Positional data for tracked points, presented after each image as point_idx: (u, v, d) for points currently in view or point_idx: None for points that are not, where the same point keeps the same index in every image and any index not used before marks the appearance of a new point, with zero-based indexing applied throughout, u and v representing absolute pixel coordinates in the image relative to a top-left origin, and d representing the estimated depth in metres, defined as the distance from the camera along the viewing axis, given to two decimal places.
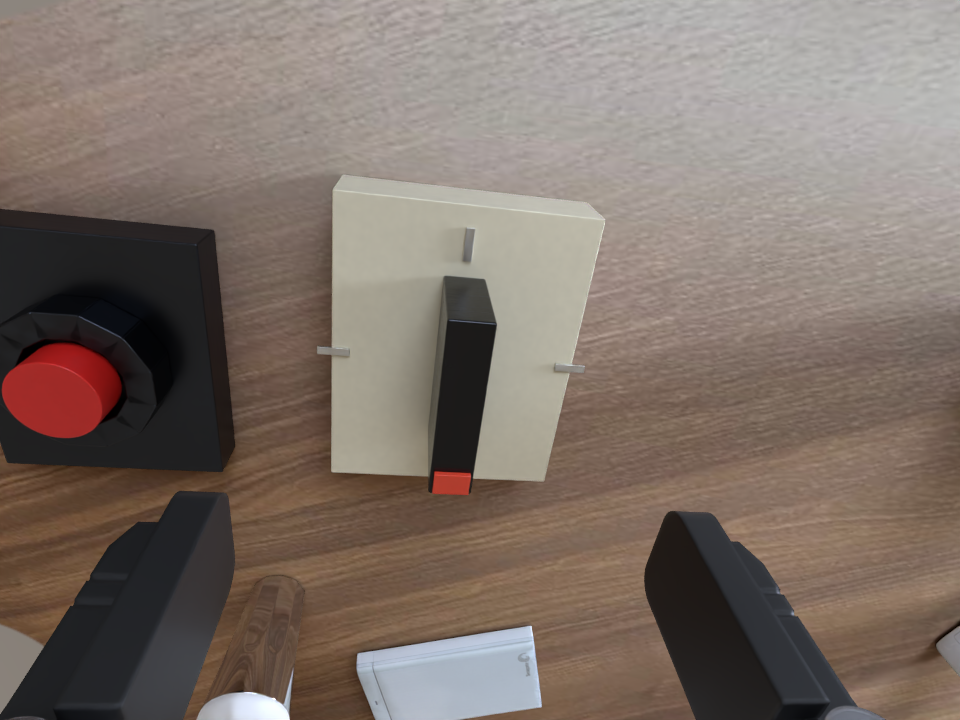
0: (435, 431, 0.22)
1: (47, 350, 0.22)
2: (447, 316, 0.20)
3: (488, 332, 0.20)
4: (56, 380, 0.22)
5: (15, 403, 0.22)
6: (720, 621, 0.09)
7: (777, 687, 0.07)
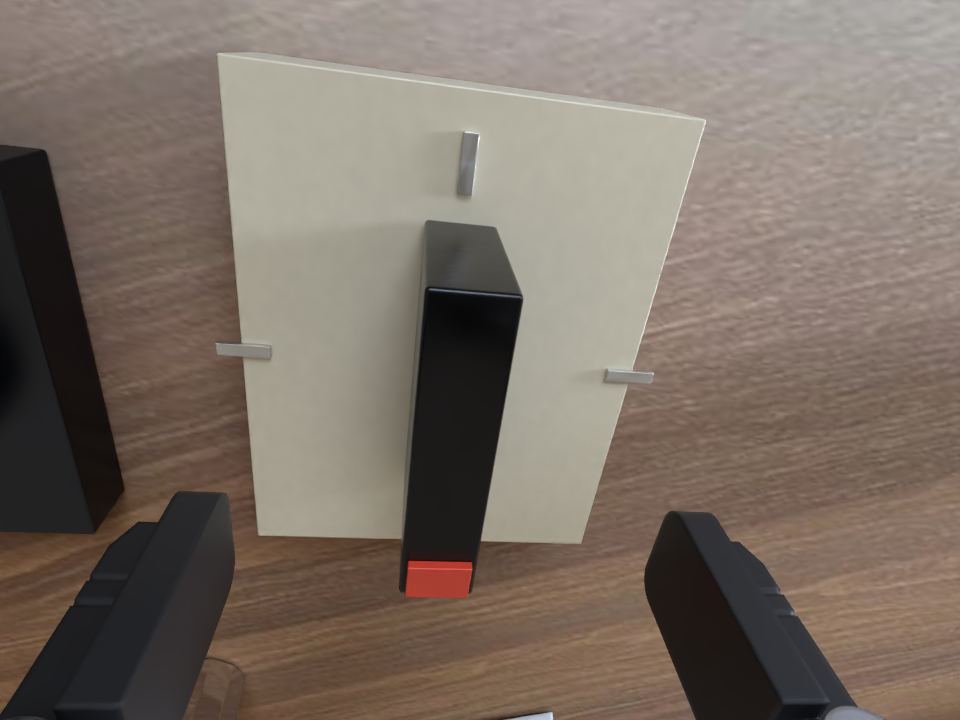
0: (408, 495, 0.12)
1: None
2: (425, 282, 0.10)
3: (506, 314, 0.10)
4: None
5: None
6: (720, 621, 0.09)
7: (777, 687, 0.07)
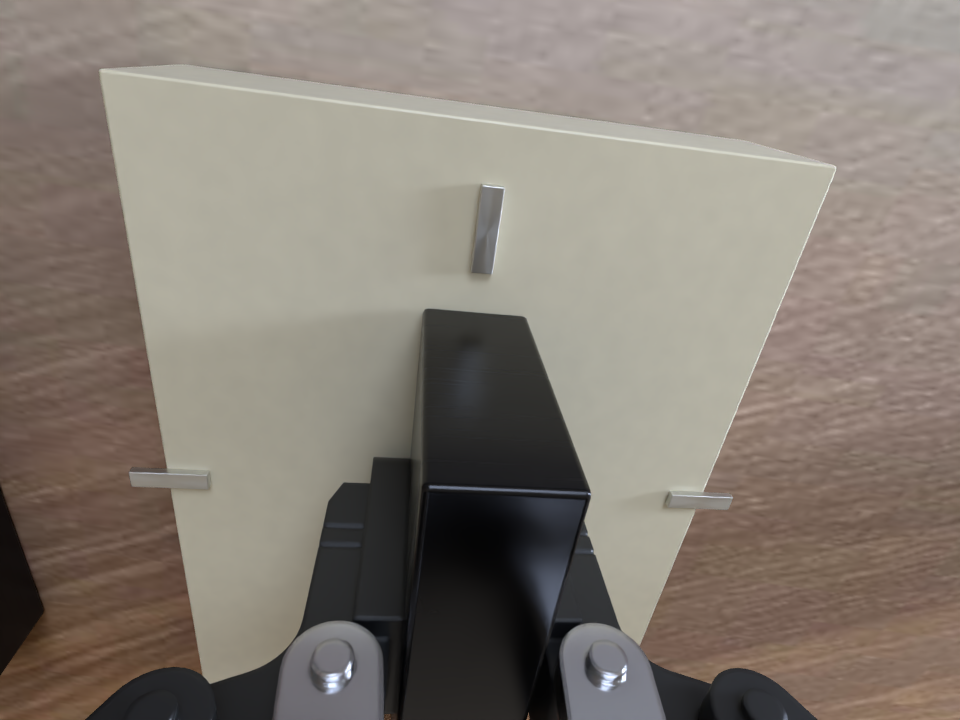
0: None
1: None
2: (422, 466, 0.06)
3: (562, 520, 0.06)
4: None
5: None
6: None
7: None
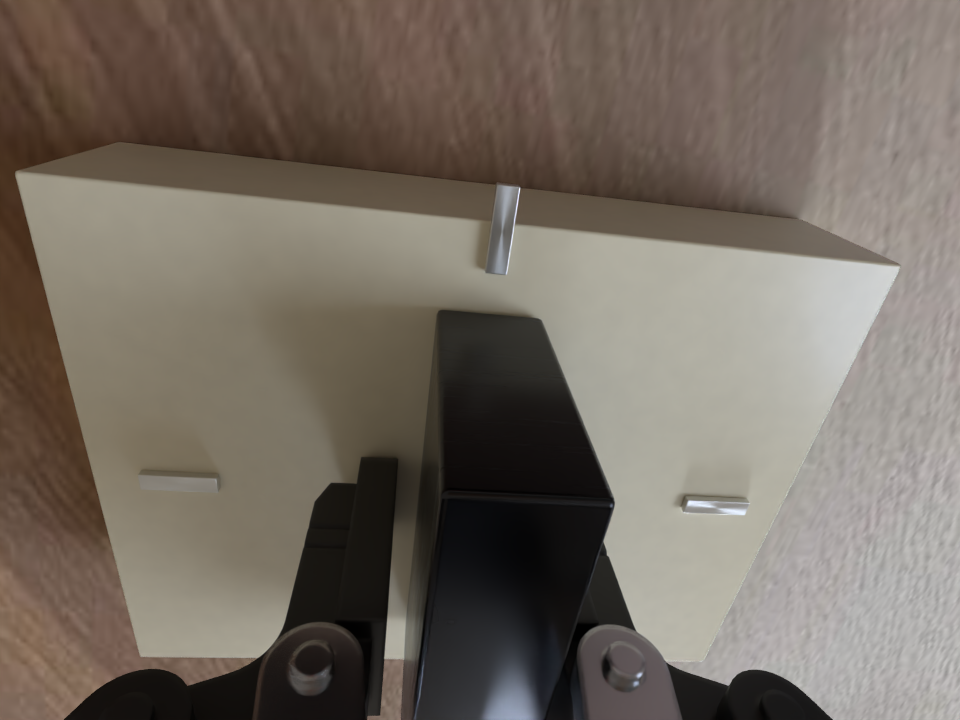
0: None
1: None
2: (441, 472, 0.06)
3: (584, 529, 0.06)
4: None
5: None
6: None
7: None
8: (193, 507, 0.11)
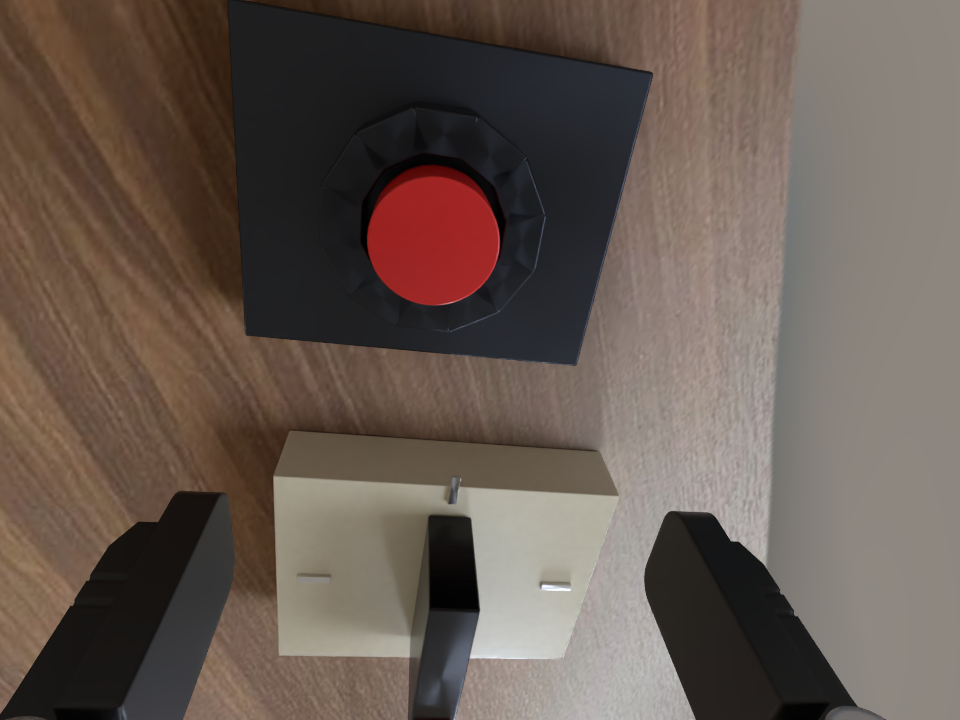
0: (415, 692, 0.21)
1: None
2: (429, 601, 0.19)
3: (471, 618, 0.19)
4: (469, 261, 0.15)
5: (433, 192, 0.14)
6: (720, 621, 0.09)
7: (777, 687, 0.07)
8: (317, 588, 0.25)
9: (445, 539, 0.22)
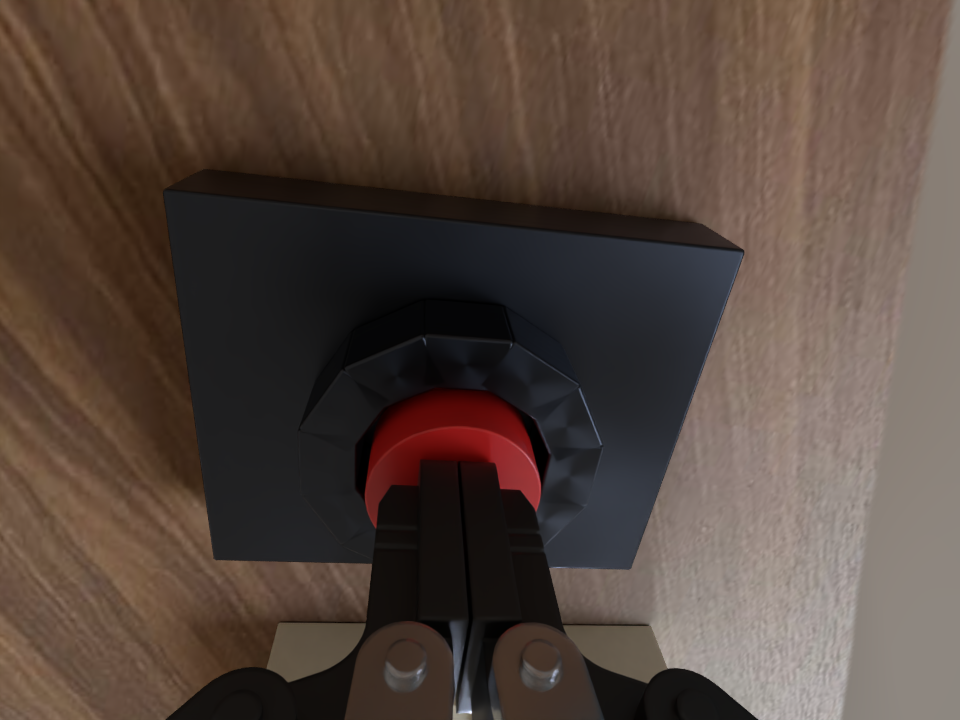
0: None
1: None
2: None
3: None
4: None
5: (453, 445, 0.11)
6: (464, 556, 0.09)
7: (477, 607, 0.08)
8: None
9: None
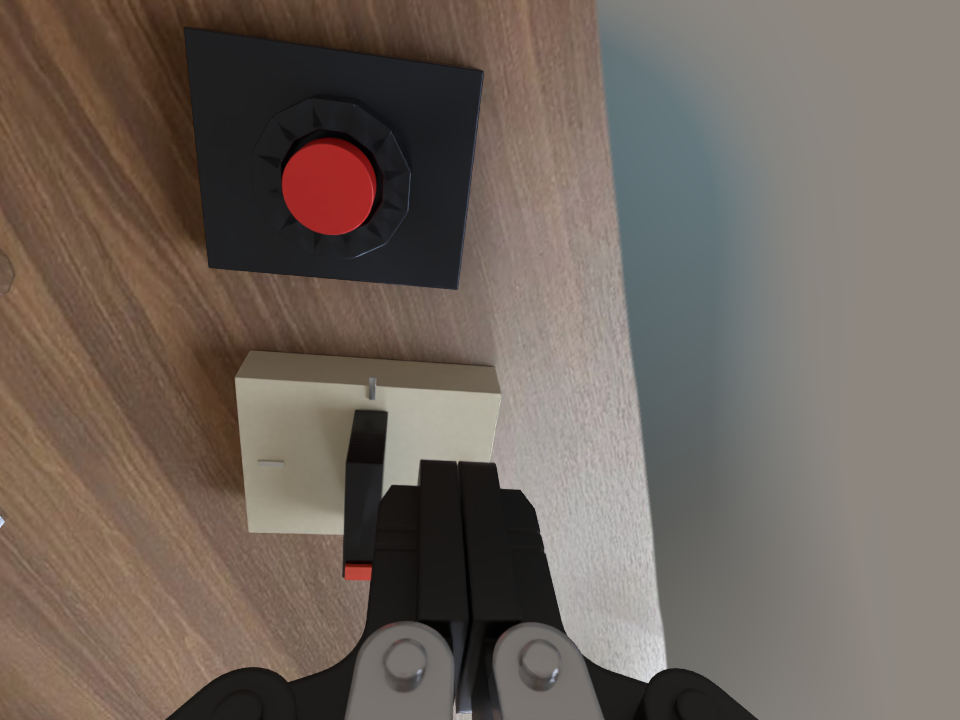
0: (344, 535, 0.29)
1: (374, 180, 0.23)
2: (346, 458, 0.27)
3: (377, 470, 0.27)
4: (354, 203, 0.23)
5: (323, 155, 0.22)
6: (464, 556, 0.09)
7: (477, 607, 0.08)
8: (274, 472, 0.32)
9: (365, 423, 0.29)
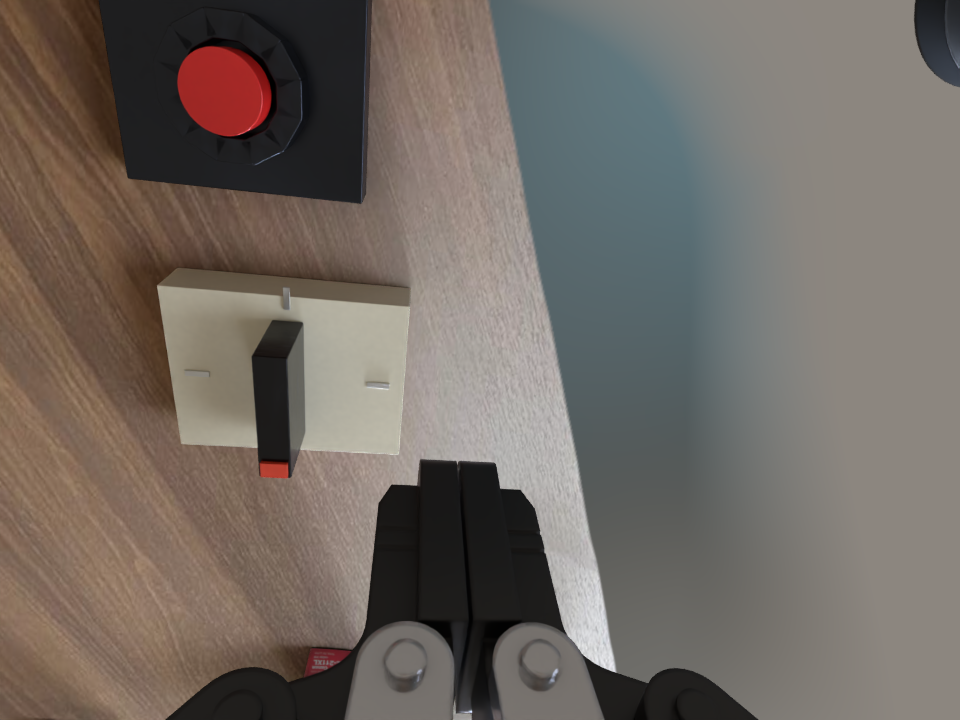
0: (257, 432, 0.31)
1: (266, 87, 0.26)
2: (253, 353, 0.29)
3: (281, 364, 0.29)
4: (245, 104, 0.25)
5: (213, 57, 0.24)
6: (464, 556, 0.09)
7: (477, 607, 0.08)
8: (201, 383, 0.34)
9: (278, 329, 0.31)
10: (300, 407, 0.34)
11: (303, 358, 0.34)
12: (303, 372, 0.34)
